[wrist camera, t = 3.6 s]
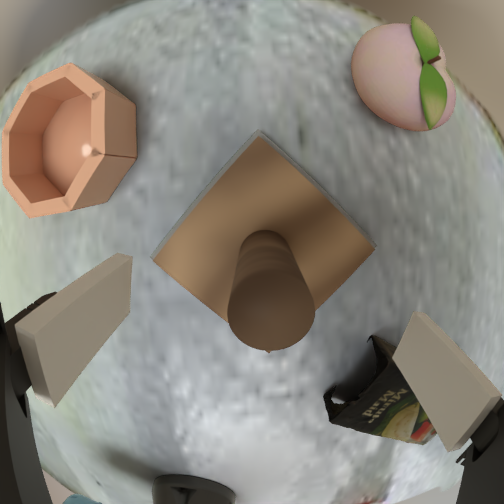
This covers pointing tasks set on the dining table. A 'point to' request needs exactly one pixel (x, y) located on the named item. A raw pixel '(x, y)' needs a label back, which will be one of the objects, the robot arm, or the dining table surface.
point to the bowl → (67, 142)
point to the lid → (264, 249)
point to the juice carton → (384, 404)
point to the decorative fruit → (404, 75)
